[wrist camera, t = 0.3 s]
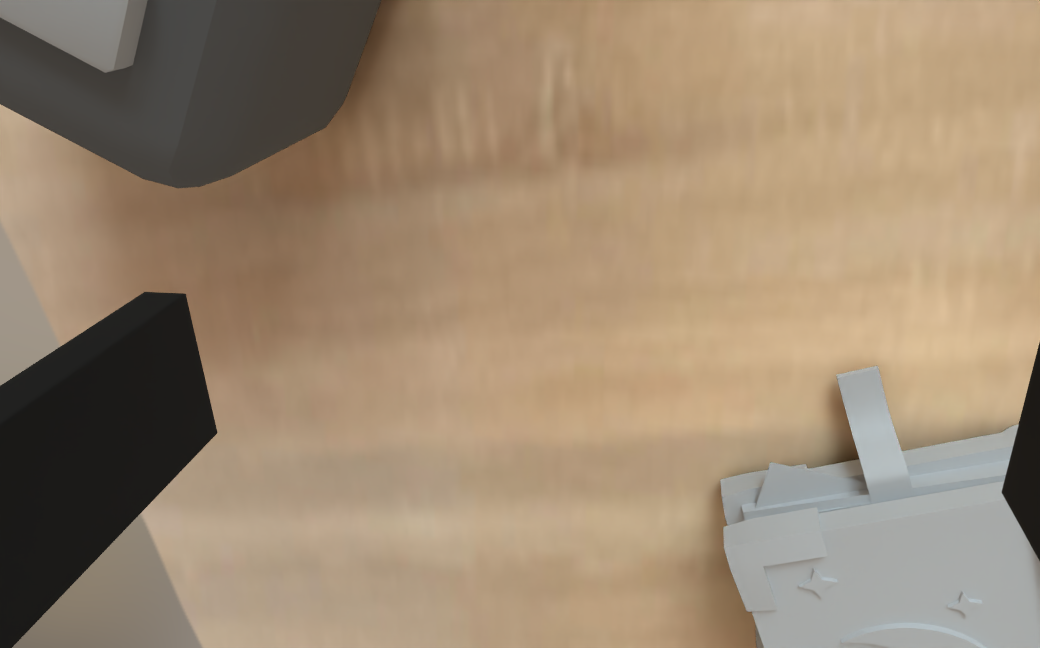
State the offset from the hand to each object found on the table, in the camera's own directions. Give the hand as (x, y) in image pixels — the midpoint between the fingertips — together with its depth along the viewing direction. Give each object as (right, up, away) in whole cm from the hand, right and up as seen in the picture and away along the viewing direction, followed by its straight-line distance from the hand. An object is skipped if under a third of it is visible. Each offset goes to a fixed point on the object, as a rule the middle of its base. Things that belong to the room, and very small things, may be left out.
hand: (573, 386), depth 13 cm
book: (+21, -13, +33) cm, 41 cm away
